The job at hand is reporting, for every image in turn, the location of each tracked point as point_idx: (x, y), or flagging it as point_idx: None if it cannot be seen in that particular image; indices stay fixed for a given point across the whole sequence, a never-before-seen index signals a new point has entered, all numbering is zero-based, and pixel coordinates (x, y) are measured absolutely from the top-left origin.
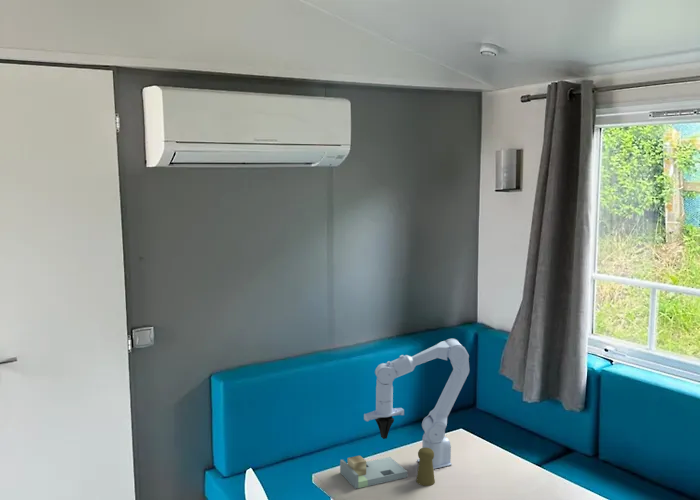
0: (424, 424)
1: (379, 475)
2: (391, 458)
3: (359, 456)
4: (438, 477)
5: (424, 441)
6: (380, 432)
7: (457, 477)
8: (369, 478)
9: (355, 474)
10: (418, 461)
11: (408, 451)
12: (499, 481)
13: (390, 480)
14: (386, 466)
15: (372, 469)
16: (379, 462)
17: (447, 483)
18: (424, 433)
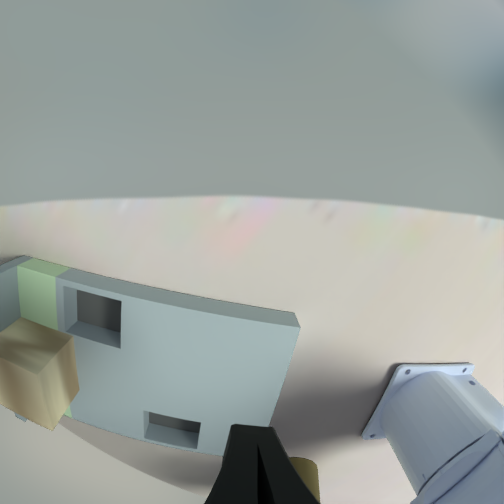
0: (494, 502)
1: (127, 427)
2: (292, 347)
3: (31, 380)
4: (340, 469)
5: (423, 482)
6: (224, 460)
7: (377, 477)
8: (81, 415)
9: (16, 413)
10: (392, 378)
11: (446, 263)
12: (414, 496)
13: (175, 431)
14: (203, 397)
15: (122, 379)
16: (197, 348)
17: (327, 492)
18: (480, 455)
